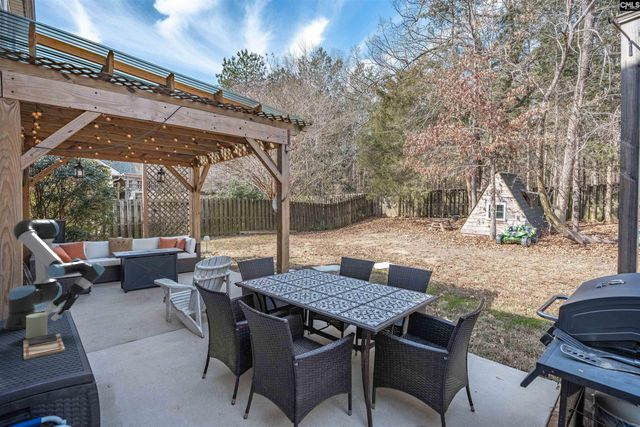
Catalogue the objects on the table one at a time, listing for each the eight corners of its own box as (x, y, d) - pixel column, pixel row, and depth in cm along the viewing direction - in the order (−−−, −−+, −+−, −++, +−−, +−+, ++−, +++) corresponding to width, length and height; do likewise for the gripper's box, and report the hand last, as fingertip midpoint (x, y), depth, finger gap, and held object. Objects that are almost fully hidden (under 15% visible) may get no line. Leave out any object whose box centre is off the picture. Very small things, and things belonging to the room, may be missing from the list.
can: (34, 339, 172) (34, 317, 172) (20, 337, 173) (21, 316, 174) (51, 333, 181) (52, 312, 181) (38, 331, 182) (39, 311, 183)
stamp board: (23, 342, 168) (23, 338, 168) (59, 335, 178) (59, 331, 178) (23, 360, 148) (23, 356, 148) (64, 351, 158) (64, 347, 158)
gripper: (93, 292, 187) (62, 325, 175) (77, 286, 202) (47, 316, 189) (83, 285, 183) (50, 318, 171) (67, 280, 197) (36, 309, 185)
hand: (48, 317), depth 180 cm, fingers open, 13 cm apart
